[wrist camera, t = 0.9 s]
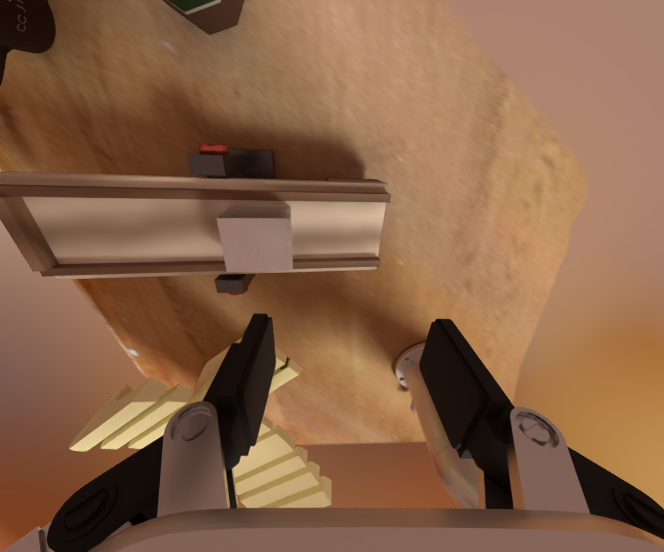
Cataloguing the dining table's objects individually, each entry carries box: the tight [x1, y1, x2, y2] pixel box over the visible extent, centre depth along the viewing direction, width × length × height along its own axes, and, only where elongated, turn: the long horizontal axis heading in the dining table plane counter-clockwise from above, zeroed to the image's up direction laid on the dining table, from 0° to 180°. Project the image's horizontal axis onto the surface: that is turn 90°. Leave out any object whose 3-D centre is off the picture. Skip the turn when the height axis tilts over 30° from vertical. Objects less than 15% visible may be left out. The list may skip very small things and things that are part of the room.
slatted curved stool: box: [69, 337, 331, 508], centre depth 38 cm, size 30×16×18 cm, turn 39°
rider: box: [217, 206, 293, 272], centre depth 23 cm, size 5×6×4 cm
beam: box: [0, 171, 391, 279], centre depth 25 cm, size 10×34×6 cm, turn 88°
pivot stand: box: [187, 144, 275, 295], centre depth 27 cm, size 16×8×9 cm, turn 178°
